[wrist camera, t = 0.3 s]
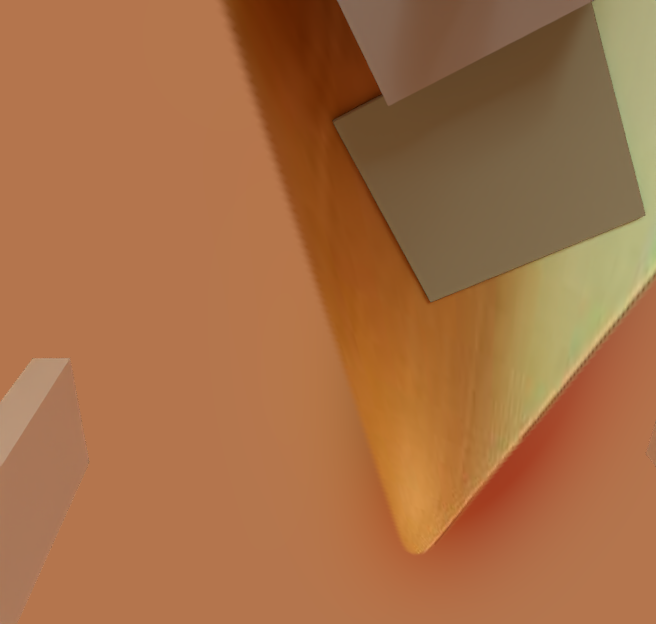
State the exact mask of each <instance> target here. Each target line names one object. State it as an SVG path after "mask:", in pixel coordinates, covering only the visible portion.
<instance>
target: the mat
mask: <svg viewBox="0 0 656 624" xmlns="http://www.w3.org/2000/svg"><path fill="white" fill-rule="evenodd" d="M333 124H334V126H335V128H336V129H337V131H338V133H339V135H340V137H341V139H342V141H343V142H344V144H345V146H346V148H347V150H348V152H349V153H350V155H351V157H352V159H353V161H354V163H355V164H356V166H357V168H358V170H359V172H360V174H361V175H362V177H363V179H364V181H365V183H366V185H367V186H368V188H369V190H370V192H371V194H372V196H373V197H374V199H375V201H376V203H377V205H378V207H379V208H380V210H381V212H382V214H383V216H384V218H385V220H386V221H387V223H388V225H389V227H390V229H391V231H392V232H393V234H394V236H395V238H396V240H397V242H398V243H399V245H400V247H401V249H402V251H403V253H404V254H405V256H406V258H407V260H408V262H409V264H410V265H411V267H412V269H413V271H414V273H415V275H416V276H417V278H418V280H419V282H420V284H421V286H422V287H423V289H424V291H425V293H426V295H427V297H428V299H429V300H430V302H433V301H435V300H438V299H440V298H443V297H445V296H448V295H450V294H453V293H455V292H458V291H460V290H463V289H465V288H468V287H470V286H472V285H475V284H477V283H480V282H482V281H485V280H487V279H490V278H492V277H495V276H497V275H500V274H502V273H505V272H507V271H510V270H512V269H514V268H517V267H519V266H522V265H524V264H527V263H529V262H532V261H534V260H537V259H539V258H542V257H544V256H547V255H549V254H552V253H554V252H557V251H559V250H561V249H564V248H566V247H569V246H571V245H574V244H576V243H579V242H581V241H584V240H586V239H589V238H591V237H594V236H596V235H599V234H601V233H603V232H606V231H608V230H611V229H613V228H616V227H618V226H621V225H623V224H626V223H628V222H631V221H633V220H636V219H638V218H641V217H643V216H645V211H644V207H643V203H642V199H641V195H640V191H639V187H638V183H637V180H636V176H635V172H634V168H633V164H632V160H631V156H630V152H629V148H628V144H627V140H626V136H625V132H624V129H623V125H622V121H621V117H620V113H619V109H618V105H617V101H616V97H615V93H614V89H613V85H612V81H611V78H610V74H609V70H608V66H607V62H606V58H605V54H604V50H603V46H602V42H601V38H600V34H599V31H598V27H597V23H596V19H595V15H594V11H593V7H592V3H591V2H590V3H588V4H586V5H584V6H582V7H580V8H578V9H576V10H574V11H572V12H570V13H568V14H567V15H565V16H563V17H561V18H559V19H557V20H555V21H553V22H551V23H549V24H547V25H545V26H543V27H541V28H539V29H537V30H535V31H534V32H532V33H530V34H528V35H526V36H524V37H522V38H520V39H518V40H516V41H514V42H512V43H510V44H508V45H506V46H504V47H502V48H500V49H499V50H497V51H495V52H493V53H491V54H489V55H487V56H485V57H483V58H481V59H479V60H477V61H475V62H473V63H471V64H469V65H467V66H466V67H464V68H462V69H460V70H458V71H456V72H454V73H452V74H450V75H448V76H446V77H444V78H442V79H440V80H438V81H436V82H434V83H432V84H431V85H429V86H427V87H425V88H423V89H421V90H419V91H417V92H415V93H413V94H411V95H409V96H407V97H405V98H403V99H401V100H399V101H398V102H396V103H394V104H392V105H390V106H388V105H387V103H386V101H385V99H384V97H383V95H380V96H378V97H376V98H374V99H372V100H370V101H368V102H367V103H365V104H363V105H361V106H359V107H357V108H355V109H353V110H351V111H349V112H347V113H345V114H344V115H342V116H340V117H338V118H336V119H334V120H333Z"/></svg>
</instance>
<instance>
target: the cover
mask: <svg viewBox="0 0 656 624" xmlns="http://www.w3.org/2000/svg"><path fill="white" fill-rule="evenodd" d="M337 1H338V3H339V5H340V7H341V9H342V12H343V14H344V16H345V18H346V20H347V22H348V24H349V26H350V28H351V30H352V32H353V34H354V36H355V39H356V41H357V43H358V45H359V47H360V49H361V51H362V53H363V55H364V57H365V59H366V61H367V63H368V66H369V68H370V70H371V72H372V74H373V76H374V78H375V80H376V82H377V84H378V86H379V88H380V91H381V93H382V95H383V97H384V99H385V101H386V103H387V105H388V106H390V105H392V104H394V103H396V102H398V101H399V100H401V99H403V98H405V97H407V96H409V95H411V94H413V93H415V92H417V91H419V90H421V89H423V88H425V87H427V86H429V85H431V84H432V83H434V82H436V81H438V80H440V79H442V78H444V77H446V76H448V75H450V74H452V73H454V72H456V71H458V70H460V69H462V68H464V67H466V66H467V65H469V64H471V63H473V62H475V61H477V60H479V59H481V58H483V57H485V56H487V55H489V54H491V53H493V52H495V51H497V50H499V49H500V48H502V47H504V46H506V45H508V44H510V43H512V42H514V41H516V40H518V39H520V38H522V37H524V36H526V35H528V34H530V33H532V32H534V31H535V30H537V29H539V28H541V27H543V26H545V25H547V24H549V23H551V22H553V21H555V20H557V19H559V18H561V17H563V16H565V15H567V14H568V13H570V12H572V11H574V10H576V9H578V8H580V7H582V6H584V5H586V4H588V3H590V2H592V1H594V0H337Z"/></svg>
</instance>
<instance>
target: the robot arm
mask: <svg viewBox="0 0 656 624" xmlns="http://www.w3.org/2000/svg"><path fill="white" fill-rule="evenodd" d="M646 455H647V456H648V457H649V459H650V460H651V461H652V462H653V464H654V465H655V466H656V422H655V425H654V428H653V432H652V435H651V438H650V441H649V445H648V448H647V451H646ZM88 464H89V458H88V453H87V447H86V443H85V436H84V431H83V426H82V420H81V415H80V409H79V404H78V398H77V393H76V388H75V382H74V377H73V372H72V366H71V361H70V358H33V359H32V360H31V362H30V363H29V364H28V365H27V367H26V368H25V369H24V371H23V372H22V373H21V375H20V376H19V377H18V379H17V380H16V382H15V383H14V384H13V386H12V387H11V389H10V390H9V391H8V392H7V394H6V395H5V396H4V398H3V399H2V400H1V402H0V624H17V622H18V620H19V618H20V616H21V613H22V611H23V609H24V607H25V604H26V602H27V600H28V598H29V596H30V593H31V591H32V589H33V587H34V584H35V582H36V580H37V577H38V575H39V573H40V571H41V569H42V567H43V564H44V562H45V560H46V558H47V555H48V553H49V551H50V549H51V547H52V544H53V542H54V540H55V538H56V535H57V533H58V531H59V528H60V526H61V524H62V522H63V520H64V517H65V515H66V513H67V511H68V509H69V507H70V504H71V502H72V500H73V497H74V495H75V493H76V491H77V489H78V486H79V484H80V482H81V480H82V478H83V475H84V473H85V471H86V469H87V466H88Z"/></svg>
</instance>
